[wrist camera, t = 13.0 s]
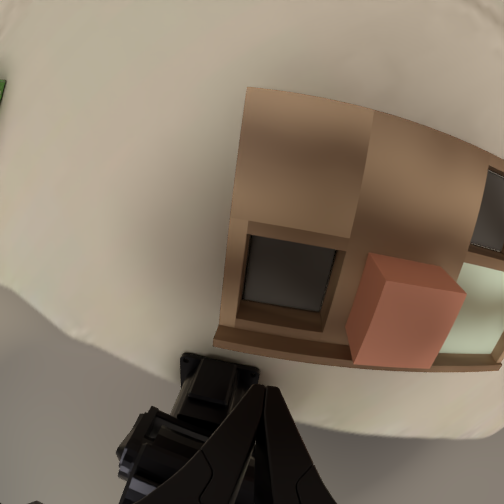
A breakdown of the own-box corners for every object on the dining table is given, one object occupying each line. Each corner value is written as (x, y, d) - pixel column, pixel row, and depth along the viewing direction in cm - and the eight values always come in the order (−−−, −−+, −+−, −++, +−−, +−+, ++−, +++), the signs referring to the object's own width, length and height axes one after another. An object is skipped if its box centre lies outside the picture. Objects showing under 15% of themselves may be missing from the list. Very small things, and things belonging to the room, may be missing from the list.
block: (412, 334, 17) (429, 368, 14) (345, 326, 17) (353, 364, 14) (440, 266, 15) (467, 293, 12) (368, 252, 15) (386, 280, 12)
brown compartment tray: (480, 343, 19) (498, 370, 16) (225, 312, 21) (212, 346, 17) (537, 184, 14) (568, 195, 10) (253, 94, 15) (242, 81, 12)
